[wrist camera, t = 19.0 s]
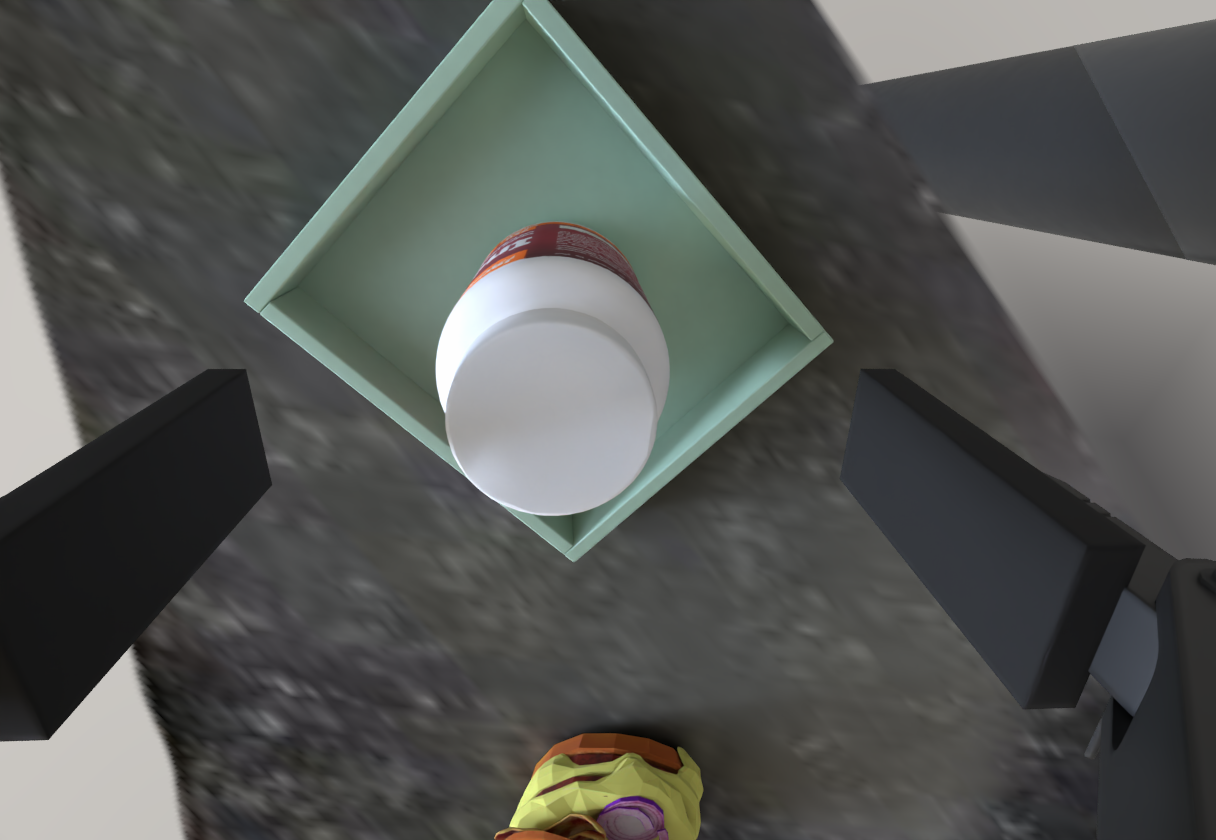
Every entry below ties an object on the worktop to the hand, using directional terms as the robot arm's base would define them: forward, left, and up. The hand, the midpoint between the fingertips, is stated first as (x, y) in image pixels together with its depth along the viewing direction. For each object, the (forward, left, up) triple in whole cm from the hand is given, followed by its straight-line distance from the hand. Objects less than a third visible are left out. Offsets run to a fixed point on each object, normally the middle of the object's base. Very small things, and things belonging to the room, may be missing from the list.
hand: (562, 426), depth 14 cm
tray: (0, 0, -12) cm, 12 cm away
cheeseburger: (-21, +18, -12) cm, 30 cm away
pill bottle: (0, 0, -11) cm, 11 cm away
